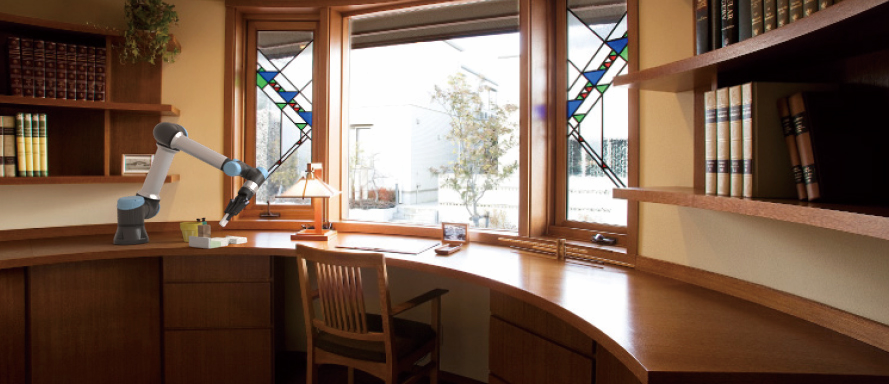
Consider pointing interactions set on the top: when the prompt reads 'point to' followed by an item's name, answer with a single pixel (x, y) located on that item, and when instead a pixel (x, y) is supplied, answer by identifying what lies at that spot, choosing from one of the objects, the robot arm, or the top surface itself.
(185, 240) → the plant pot
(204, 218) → the binoculars
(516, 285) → the top surface
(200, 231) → the walnut block
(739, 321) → the top surface
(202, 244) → the trap board
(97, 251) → the top surface
